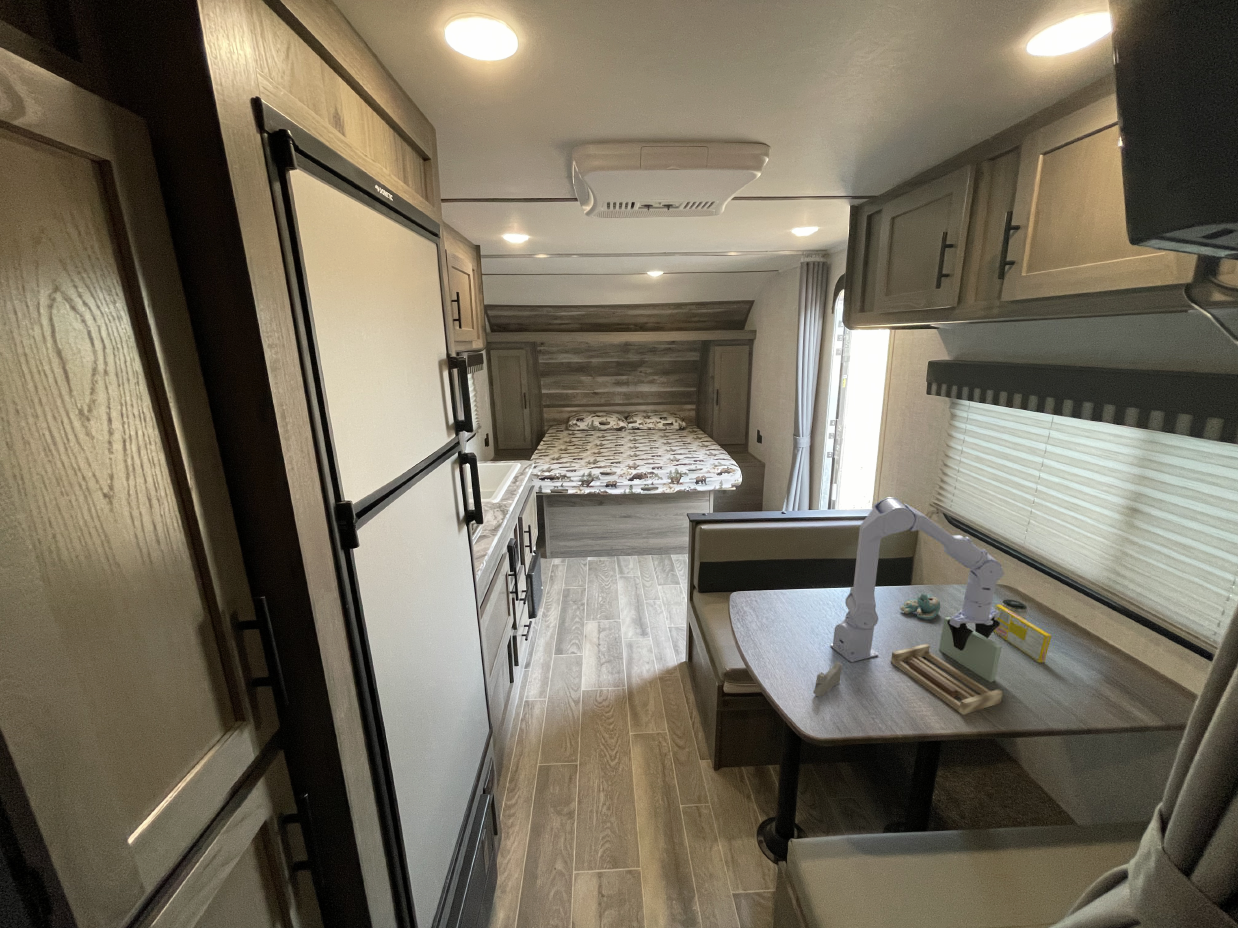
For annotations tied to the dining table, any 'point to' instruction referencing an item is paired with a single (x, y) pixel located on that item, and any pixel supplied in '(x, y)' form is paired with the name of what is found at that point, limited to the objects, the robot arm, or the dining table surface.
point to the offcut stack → (933, 679)
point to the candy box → (1022, 634)
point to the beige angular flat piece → (828, 680)
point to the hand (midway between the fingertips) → (969, 645)
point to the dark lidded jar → (1015, 607)
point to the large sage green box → (973, 652)
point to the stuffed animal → (922, 606)
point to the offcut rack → (946, 680)
